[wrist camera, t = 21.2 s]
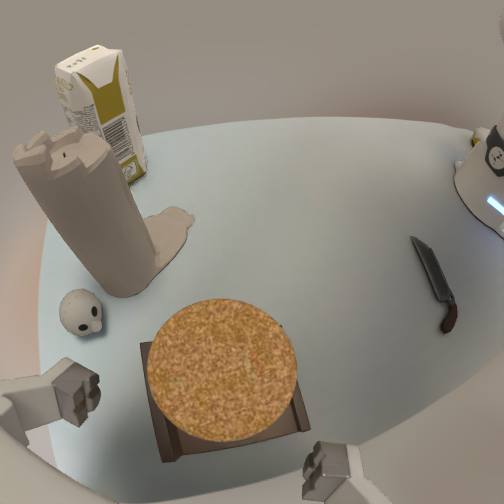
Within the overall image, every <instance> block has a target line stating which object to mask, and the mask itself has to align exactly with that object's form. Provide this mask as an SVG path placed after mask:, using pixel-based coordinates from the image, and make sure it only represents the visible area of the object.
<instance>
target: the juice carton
mask: <svg viewBox="0 0 504 504" xmlns="http://www.w3.org/2000/svg"><path fill="white" fill-rule="evenodd" d="M54 67H55V77H56V86H57V90H58V94H59V97H60V100H61V103H62V106H63V109H64V112H65V115H66V117H67V120H68V123H69V126H70V127H72V126H78V127H80V128H81V129H82V131H83V132H84V133H94V134H96V135H98V136H100V137H101V138H102V139H104V140H105V141H106V142H108V143H109V144H110V145H111V147H112V149H113V151H114V153H115V155H116V157H117V160H118V162H119V164H120V166H121V168H122V170H123V173H124V175H125V178H126V180H127V183H128V184H129V183H131V182H132V181H133V180H135V179H136V178H138V177H139V176H141V175H142V174H144V173H145V172H146V171H147V168H146V160H145V153H144V148H143V144H142V139H141V135H140V131H139V126H138V121H137V116H136V111H135V107H134V102H133V97H132V91H131V86H130V80H129V75H128V69H127V65H126V62H125V59H124V56H123V53H122V50H116V49H106V48H105V47H103V46H100V45H96V46H93V47H91V48H88V49H86V50H84V51H82V52H79V53H77V54H75V55H73V56H71V57H69V58H67V59H65V60H64V61H62V62H60V63H58V64H57V65H55V66H54Z"/></svg>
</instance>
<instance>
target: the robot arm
mask: <svg viewBox="0 0 504 504" xmlns="http://www.w3.org/2000/svg"><path fill="white" fill-rule="evenodd" d="M499 29H500V34H501V38H502V40H503V43H504V10H503V12H502V13H501V16H500V21H499ZM455 168H456V174H455V177H454V181H455V185H456V188H457V191H458V193H459V195H460V196H461V198H462V200H463V201H464V203H465V204H466V205H467V207H468V208H469V209H470V210H471V211H472V213H473V214H474V215H475V216H476V217H477V218H478V219H480V220H481V221H482V222H483V223H485V224H486V225H488V226H489V227H491V228H493V229H494V230H495V231H496V232H497V233H498V234H499V235H500V236H501V237H502V238H504V114H503V116H502V118H501V120H500V122H499V123H498V125H495V126H494V127H493V129H491V131H490V132H489V135H488V136H487V138H486V141H485V142H483V141H481V142H480V141H479V142H477V144H476V145H475V146H474V147H473V149H472V150H471V151H470V153H469V154H468V155H467V156H466V158H465V159H464V160H463V161H461V160H457V162H456V163H455ZM99 382H100V381H99V375H98V374H96V373H95V372H93V371H91V370H89V369H87V368H85V367H84V366H82V365H80V364H78V363H76V362H74V361H73V360H71V359H69V358H67V357H66V358H63V359H61V360H60V361H59V362H58V363H57V364H55V365H54V366H53V367H52V368H50V369H49V370H48V371H47V372H46V373H44V374H43V375H42V376H41V377H40V376H39V375H35V376H29V377H22V378H15V379H7V380H0V504H119V503H117V502H115V501H113V500H111V499H109V498H107V497H105V496H103V495H101V494H99V493H97V492H95V491H93V490H91V489H89V488H88V487H86V486H84V485H82V484H81V483H79V482H77V481H75V480H74V479H72V478H71V477H69V476H67V475H66V474H64V473H63V472H61V471H59V470H58V469H56V468H55V467H53V466H52V465H50V464H49V463H47V462H46V461H44V460H43V459H42V458H40V457H39V456H38V455H36V454H35V453H33V452H32V451H31V450H30V449H28V448H27V446H28V445H29V440H28V438H27V436H26V434H25V431H27V430H30V429H34V428H37V427H39V426H42V425H45V424H48V423H51V422H54V421H57V420H60V419H62V418H63V419H65V420H66V421H68V422H70V423H71V424H73V425H75V426H77V427H80V426H81V425H82V424H83V423H84V421H85V420H86V419H87V418H88V414H87V412H91V411H94V410H95V408H96V407H97V406H98V403H99V401H100V397H101V391H100V389H99V387H98V385H97V384H98V383H99ZM303 477H304V479H305V480H306V481H305V483H304V484H303V485H302V499H303V500H312V501H322V502H324V503H325V504H393V503H392V502H391V501H390V500H389V499H388V498H387V497H386V496H385V495H384V494H383V493H382V492H381V491H380V490H379V489H378V488H377V487H376V486H375V485H374V484H373V483H372V482H371V481H370V480H369V479H368V478H365V477H364V472H363V465H362V460H361V455H360V450H359V446H358V445H349V444H340V443H330V442H321V441H318V442H317V443H316V444H315V445H314V447H313V453H310V454H309V455H308V457H307V458H306V460H305V463H304V467H303Z"/></svg>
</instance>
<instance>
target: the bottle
mask: <svg viewBox="0 0 504 504" xmlns="http://www.w3.org/2000/svg"><path fill="white" fill-rule="evenodd" d="M147 376H148V382H149V387H150V390H151V393H152V396H153V398H154V400H155V402H156V404H157V406H158V407H159V408H160V410H161V411H162V412H163V414H164V415H165V416H166V418H167V419H168V420H170V421H171V422H172V423H173V424H174V425H175V426H177V427H178V428H179V429H181V430H182V431H184V432H186V433H188V434H190V435H192V436H195V437H198V438H201V439H204V440H208V441H212V442H219V443H234V442H240V441H244V440H248V439H250V438H252V437H255V436H257V435H258V434H260V433H262V432H263V431H264V430H266V429H267V428H268V427H270V426H271V425H272V424H273V423H274V422H275V421H276V420H277V419H278V418H279V417H280V416H281V415H282V414H283V412H284V411H285V409H286V408H287V406H288V405H289V403H290V401H291V398H292V396H293V394H294V390H295V385H296V379H297V363H296V357H295V353H294V349H293V347H292V345H291V342H290V340H289V338H288V336H287V335H286V333H285V332H284V330H283V329H282V328H281V327H280V326H279V324H278V323H277V322H276V321H275V320H274V319H273V318H272V317H270V316H269V315H268V314H267V313H265V312H263V311H262V310H260V309H258V308H256V307H254V306H252V305H250V304H247V303H244V302H241V301H236V300H231V299H212V300H205V301H201V302H198V303H195V304H192V305H190V306H188V307H186V308H183V309H182V310H180V311H179V312H177V313H176V314H174V315H173V316H172V317H171V318H170V319H169V320H168V321H167V322H166V323H165V324H164V325H163V326H162V327H161V329H160V330H159V331H158V333H157V335H156V337H155V339H154V341H153V343H152V345H151V348H150V352H149V355H148V362H147Z"/></svg>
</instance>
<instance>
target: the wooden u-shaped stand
mask: <svg viewBox="0 0 504 504" xmlns="http://www.w3.org/2000/svg"><path fill="white" fill-rule="evenodd" d="M279 326H280V327H281V328H282V326H281V325H279ZM152 343H153V342H144V343H140V349H141V357H142V364H143V371H144V377H145V384H146V390H147V395H148V401H149V406H150V412H151V417H152V421H153V426H154V431H155V435H156V440H157V444H158V448H159V452H160V456H161V460H162V462H163V463H167V462H175V461H177V460H178V459H179V458H180V457H181V456H183V455H189V454H197V453H204V452H211V451H217V450H223V449H228V448H233V447H239V446H243V445H248V444H253V443H257V442H261V441H266V440H270V439H274V438H277V437H281V436H285V435H288V434H292V433H295V432H305V431H308V430H311V427H310V424H309V420H308V417H307V413H306V410H305V406H304V402H303V399H302V395H301V392H300V388H299V385H298V381H297V379H296V385H295V390H294V394H293V396H292V398H291V401H290V403H289V405H288V406H287V408H286V409H285V411H284V412H283V414H282V415H281V416H280V417H279V418H278V419H277V420H276V421H275V422H274V423H273V424H272V425H271V426H270V427H268V428H267V429H266V430H264V431H263V432H262V433H260V434H258V435H257V436H255V437H252V438H250V439H248V440H244V441H240V442H234V443H219V442H212V441H208V440H204V439H201V438H198V437H195V436H192V435H190V434H188V433H186V432H184V431H182V430H181V429H179V428H178V427H177V426H175V425H174V424H173V423H172V422H171V421H170V420H168V419H167V418H166V416H165V415H164V414H163V412H162V411H161V410H160V408H159V407H158V406H157V404H156V402H155V400H154V398H153V396H152V393H151V390H150V387H149V382H148V376H147V362H148V355H149V352H150V348H151V345H152Z"/></svg>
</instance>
